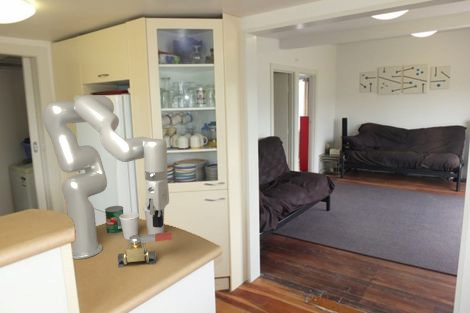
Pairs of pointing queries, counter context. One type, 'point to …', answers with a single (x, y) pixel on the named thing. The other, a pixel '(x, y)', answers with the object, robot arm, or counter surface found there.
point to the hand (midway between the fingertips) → (158, 226)
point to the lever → (150, 238)
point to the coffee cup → (150, 222)
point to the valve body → (136, 255)
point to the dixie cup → (129, 224)
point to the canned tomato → (114, 219)
